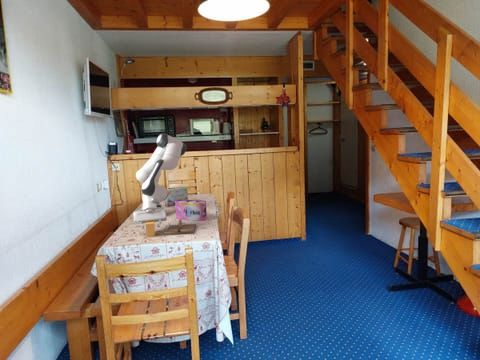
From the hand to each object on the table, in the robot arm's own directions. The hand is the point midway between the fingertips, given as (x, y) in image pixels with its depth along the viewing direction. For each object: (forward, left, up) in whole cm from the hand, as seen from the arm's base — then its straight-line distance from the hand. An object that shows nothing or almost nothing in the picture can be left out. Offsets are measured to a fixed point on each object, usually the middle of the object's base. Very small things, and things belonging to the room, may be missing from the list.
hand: (150, 227), depth 200 cm
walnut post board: (-7, +17, -5) cm, 19 cm away
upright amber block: (0, 0, -5) cm, 5 cm away
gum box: (-37, +21, -5) cm, 43 cm away
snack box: (-93, +1, -5) cm, 93 cm away
